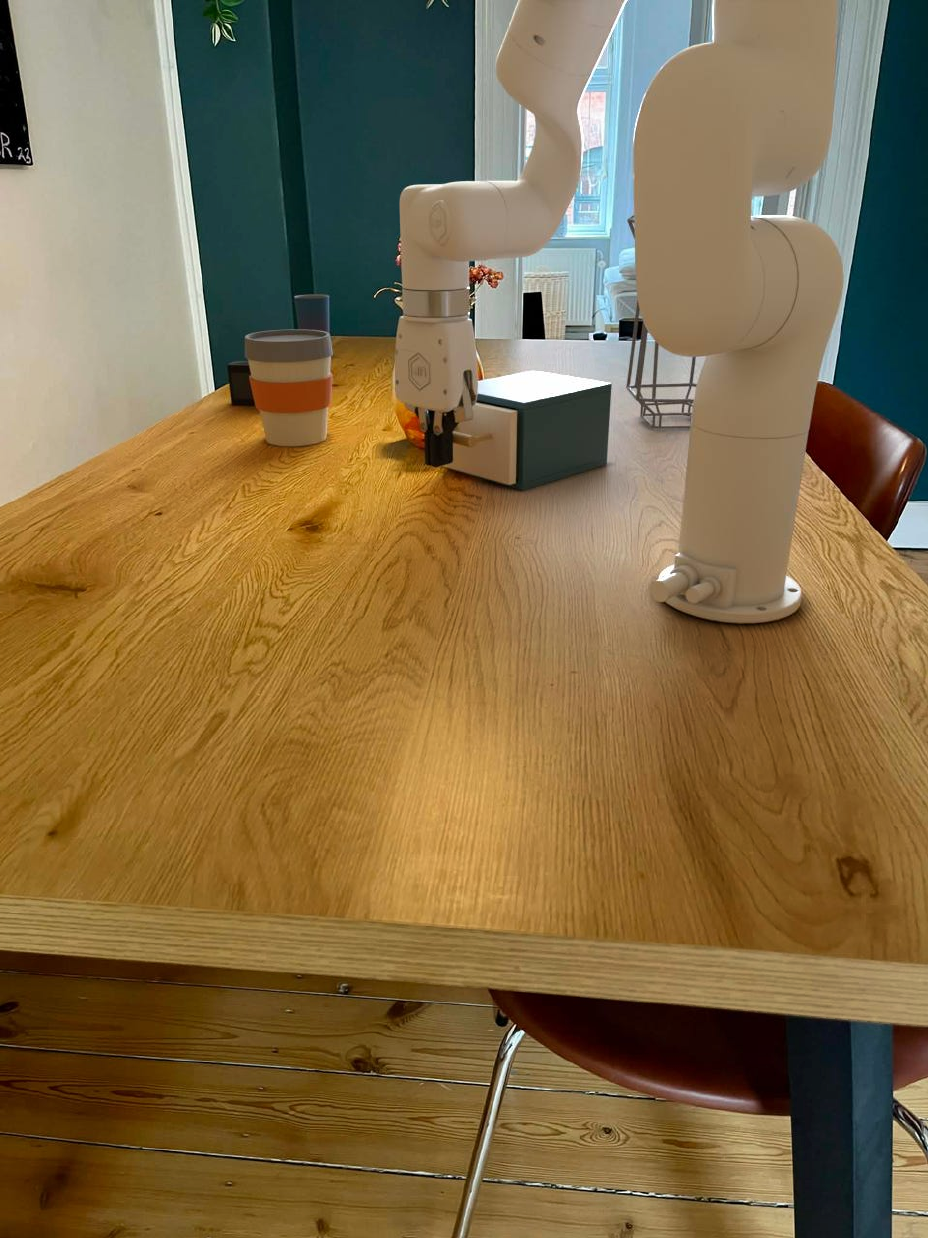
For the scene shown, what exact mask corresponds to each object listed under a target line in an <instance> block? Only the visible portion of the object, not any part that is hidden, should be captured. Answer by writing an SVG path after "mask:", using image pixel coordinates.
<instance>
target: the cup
mask: <svg viewBox="0 0 928 1238" xmlns="http://www.w3.org/2000/svg"><path fill="white" fill-rule="evenodd" d="M293 299H294V306H295V313H296V321H297V329H298V330H318V331H324V332H328V333H329V334H330V295H328V294H300V295H295V296H293Z"/></svg>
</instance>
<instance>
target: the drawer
mask: <svg viewBox="0 0 928 1238" xmlns="http://www.w3.org/2000/svg"><path fill="white" fill-rule="evenodd" d="M501 407H504V406H501V405H496V404H492V403H487V402H482V401H476V404H475V405H474V406H472V410H473V419H472V420H469V421H465V422H460V423H459V424H458V425H457V429H456V431H453V462H452V463H450V464H446V465H443V466H442V467H444V468H446V469H447V468H451V469H454V470H458V471H461V472H465V473H468V474H472V475H475V476H479V477H482V478H486V479H490V480H493V481H497V482H500V483H504V484H507V485H511V484H515V483H516V476H518V434H519V409H516V411H515V410H510V409H505V408H501ZM445 415H446V414H445Z"/></svg>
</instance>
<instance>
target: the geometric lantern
mask: <svg viewBox="0 0 928 1238" xmlns="http://www.w3.org/2000/svg"><path fill="white" fill-rule="evenodd" d="M627 224H628V227H629V229H630V232H631V234H632V236H633V239H634V240H635V231H634V214H633V215H631V216H630V217H628V218H627ZM639 318H640V309H639V304H638V298H637V300H636V308H635V315H634V324H633V332H632V340H631V347H630V356H629V364H628V371H627V379H626V387H625V389H626V390H627V391H628V392H629V394H630V395H631V396H632V397H633V398H634V400H635V401H637V402H638V403H639V405H640V414H639V415H640V418H641V419H642V420H643V421H644V422H645V423H647V425H649V426H650V427H651V428H652V429H659V430H661V429H663V430H666V429H667V430H668V429H669V430H670V429H672V430H673V429H690V428H691V425H662V422H663V421H662V419H663V416H667V417H669V416H684V417H690V418H691V419H692V412H691V409H692V408H693V401H694V398H689V396H690V394H691V390H692V387H694V388H696V386H697V383H695V382H694V377H695V376H694V375H695V367H696V359H697V357H691V367H690V375H689V382H679V383H678V382H677V383H676V382H675V383H672V382H671V383H657V379H658V378H657V377H658V362H659V361H658V360H659V348H660V345H659V344H658V343H657V342H656V341H655V340H654V352H653V353H654V355H653V369H652V371H653V372H652V383H642V381H643V373H644V366H645V357H646V351H647V342H648V334H649V332H648V330H647V328H646V326H645V324H644V322H643V321H642V327H641V335H640V343H639V351H638V357H637V364H636V365H637V366H636V372H635V373H636V374H635V380H634V381H635V382H634V384H631V380H632V374H633V373H632V372H633V365H634V358H635V350H636V344H637V343H636V342H637V334H638V327H639ZM679 387H680V388H681V387H684V388H686V387H688V390H687V391H686V395H685V398H656V397H657V388H679ZM646 388H652V390H651V397H650V398H649V397H643V394H642V391H641V390H642V389H646ZM633 389H635V390H636V392H635V391H634V390H633ZM667 405H671V406H672V405H681V412H661V410H660V407H659V406H667ZM650 406H655V409H656V412H654V410H652V409H651V408H650ZM685 406H688V407H687V412H685ZM647 411H648V413H646V412H647ZM658 416H659V417H658ZM646 417H652V422H651V421H649V420H648V418H646ZM656 417H658V425H656Z"/></svg>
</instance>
